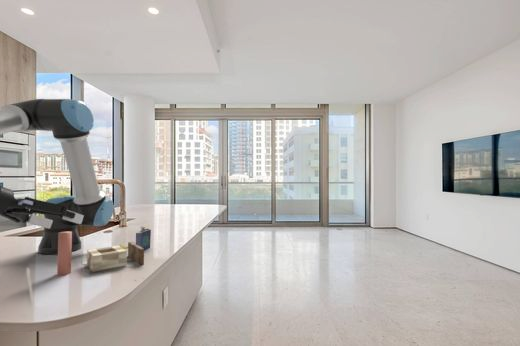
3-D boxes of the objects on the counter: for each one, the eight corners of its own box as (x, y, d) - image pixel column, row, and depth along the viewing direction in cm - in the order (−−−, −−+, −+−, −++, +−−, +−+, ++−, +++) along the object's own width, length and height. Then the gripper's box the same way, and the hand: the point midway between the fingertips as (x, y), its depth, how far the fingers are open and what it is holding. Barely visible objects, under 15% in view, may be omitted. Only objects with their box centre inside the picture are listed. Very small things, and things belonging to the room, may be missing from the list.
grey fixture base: (82, 267, 94) (82, 248, 94) (131, 258, 105) (131, 241, 105) (90, 278, 84) (91, 257, 84) (143, 267, 95) (144, 248, 95)
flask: (139, 254, 110) (140, 228, 110) (132, 254, 110) (133, 228, 111) (151, 249, 119) (152, 225, 119) (145, 248, 120) (146, 224, 120)
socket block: (86, 264, 93) (87, 250, 94) (118, 258, 100) (118, 245, 100) (92, 271, 86) (93, 256, 86) (126, 265, 93) (126, 250, 93)
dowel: (56, 276, 85) (57, 232, 85) (69, 273, 87) (71, 230, 88) (57, 279, 82) (59, 234, 83) (71, 276, 85) (72, 232, 85)
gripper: (-52, 217, 69) (34, 237, 87) (12, 205, 62) (91, 230, 79) (-36, 191, 73) (43, 215, 90) (26, 176, 65) (99, 206, 83)
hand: (66, 222), depth 85 cm, fingers open, 13 cm apart
